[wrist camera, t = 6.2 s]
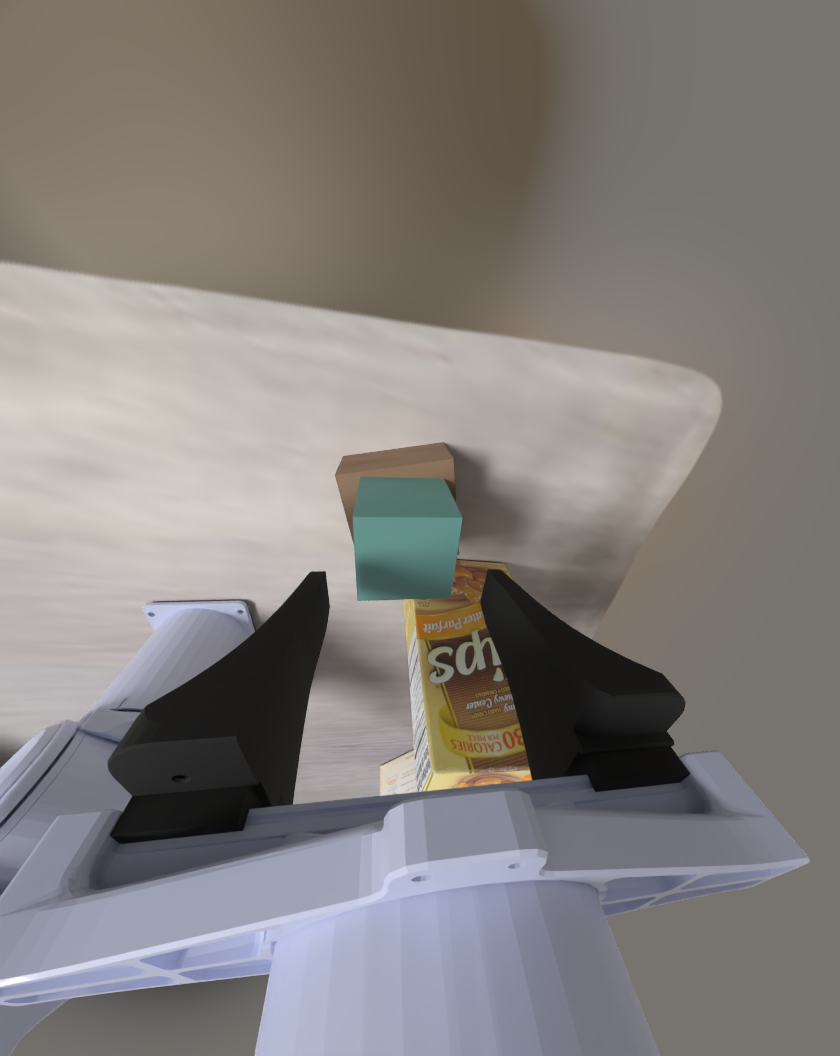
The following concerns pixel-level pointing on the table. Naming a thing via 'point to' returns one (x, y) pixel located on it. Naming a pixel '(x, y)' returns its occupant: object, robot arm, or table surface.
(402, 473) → the block
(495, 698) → the candy box
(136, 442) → the table surface
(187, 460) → the table surface
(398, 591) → the teal cube
